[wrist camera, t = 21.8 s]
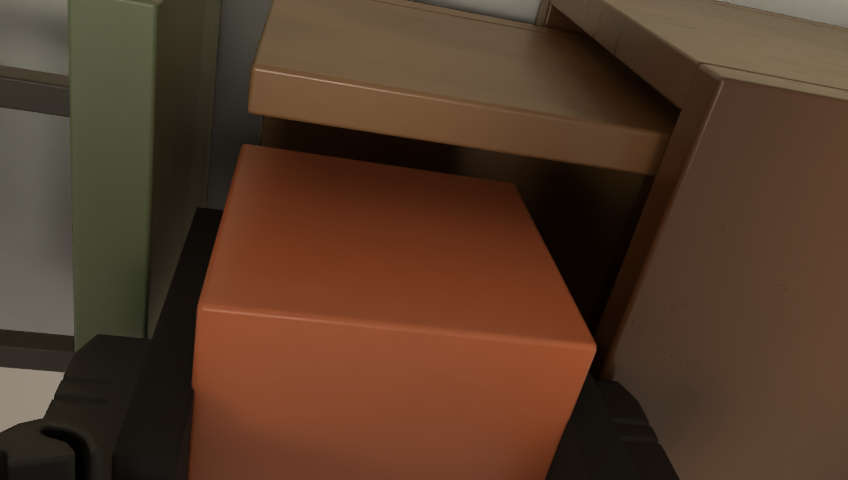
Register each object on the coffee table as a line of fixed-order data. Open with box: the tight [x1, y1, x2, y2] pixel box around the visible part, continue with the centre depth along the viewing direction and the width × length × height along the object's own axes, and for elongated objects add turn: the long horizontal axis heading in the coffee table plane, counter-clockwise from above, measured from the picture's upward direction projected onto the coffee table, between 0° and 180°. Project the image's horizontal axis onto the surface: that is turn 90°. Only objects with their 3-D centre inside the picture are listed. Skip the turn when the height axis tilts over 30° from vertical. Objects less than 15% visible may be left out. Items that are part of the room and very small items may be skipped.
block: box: [187, 144, 597, 480], centre depth 13 cm, size 6×6×6 cm
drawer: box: [0, 0, 681, 372], centre depth 17 cm, size 19×11×8 cm, turn 78°
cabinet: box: [535, 0, 848, 480], centre depth 19 cm, size 15×13×10 cm
